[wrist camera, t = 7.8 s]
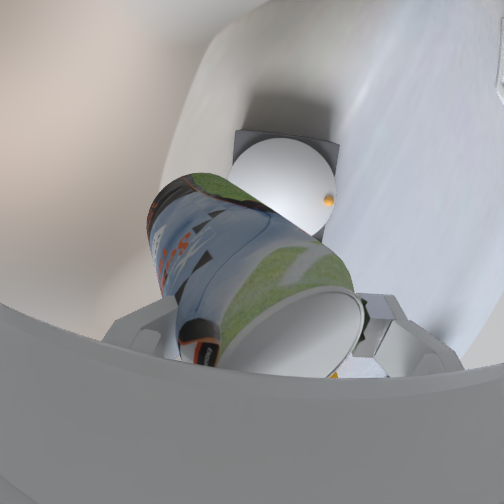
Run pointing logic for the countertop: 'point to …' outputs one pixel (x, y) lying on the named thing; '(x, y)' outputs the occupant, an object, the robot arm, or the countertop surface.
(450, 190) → the countertop surface
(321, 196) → the body block
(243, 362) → the beverage can
